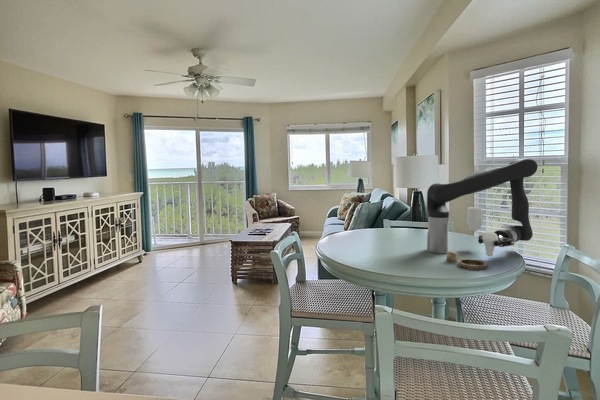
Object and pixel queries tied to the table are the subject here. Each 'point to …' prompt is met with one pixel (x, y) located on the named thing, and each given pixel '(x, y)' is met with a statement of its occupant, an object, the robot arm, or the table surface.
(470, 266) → the holder ring
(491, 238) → the lightbulb
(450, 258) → the oak stub
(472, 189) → the robot arm
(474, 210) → the cup
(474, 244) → the table surface
